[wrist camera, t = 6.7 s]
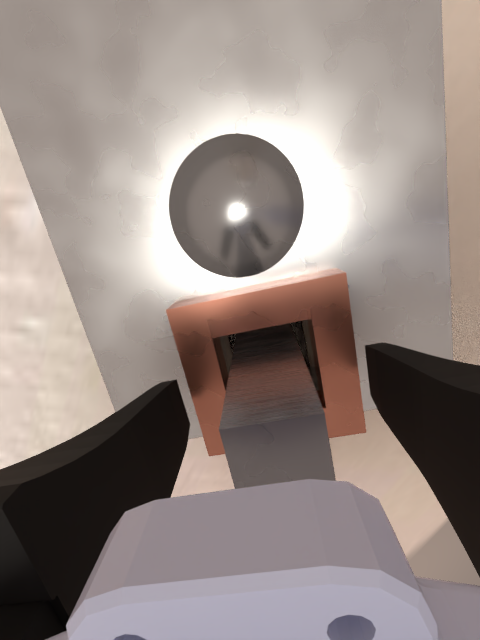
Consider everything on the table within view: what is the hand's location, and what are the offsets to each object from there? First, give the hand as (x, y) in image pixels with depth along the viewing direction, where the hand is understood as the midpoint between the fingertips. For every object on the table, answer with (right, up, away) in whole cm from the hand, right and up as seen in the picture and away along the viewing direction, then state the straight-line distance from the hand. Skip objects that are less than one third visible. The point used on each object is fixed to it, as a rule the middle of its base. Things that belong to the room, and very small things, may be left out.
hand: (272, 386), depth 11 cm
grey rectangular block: (0, +1, +5) cm, 5 cm away
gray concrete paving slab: (-1, +5, +4) cm, 6 cm away
